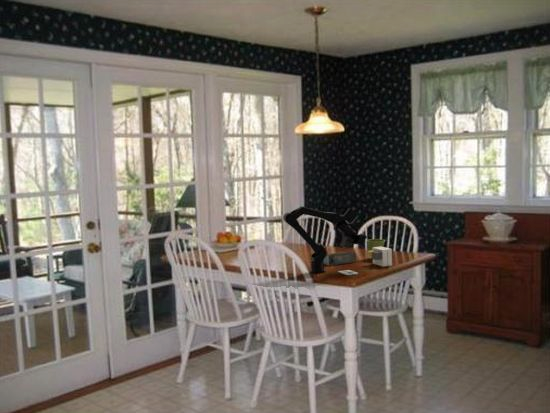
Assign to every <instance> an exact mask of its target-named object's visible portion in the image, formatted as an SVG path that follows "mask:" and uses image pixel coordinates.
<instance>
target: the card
mask: <svg viewBox="0 0 550 413" xmlns="http://www.w3.org/2000/svg"><path fill="white" fill-rule="evenodd" d="M337 272H338V273H340V274H343V275H346V276H350V275H358V274H359V272H357V271H354V270H350V269H347V270H346V269H344V270H338V271H337Z"/></svg>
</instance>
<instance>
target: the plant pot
mask: <svg viewBox="0 0 550 413" xmlns="http://www.w3.org/2000/svg"><path fill="white" fill-rule="evenodd" d="M365 241H366V244H367V247H368V251H371V250H372V247H385V246H384V245H385V242H386V239H381V238H372V239H371V238H370V239H365ZM371 260H373V259H372V258H371Z"/></svg>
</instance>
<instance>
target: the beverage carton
mask: <svg viewBox="0 0 550 413" xmlns="http://www.w3.org/2000/svg"><path fill="white" fill-rule="evenodd" d="M356 259H357V258H356V252H355V251H350V250H344V251H341V252H335V253H334V252H333V253H332V252H331V253H327V255H326V257H325V258H324V261H323V263H324V265H325V264H326V265H327V266H337V265H338V266H339V265H344V264H351V263H356V262H357V260H356ZM326 265H325V266H326Z"/></svg>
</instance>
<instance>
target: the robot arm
mask: <svg viewBox="0 0 550 413" xmlns="http://www.w3.org/2000/svg"><path fill="white" fill-rule="evenodd" d="M303 215H307V216H310V217H314V218H318V219H322V220H324V221H326V222H329V223H331V224H333V227H332V228H333V231H335V232H337V231H339V232H341V234H342V239H341V242H340V247H342V248H345V249H349V248H350V247H351V245H352V244H354V245H357V246H359V247H361V248H363V249H364V248H365V243H364V241H366V240H367V237H368V236H367V235H366V233H365V234H364V233H360V234H359V232H358V231H355V230H354V227H353V226H350V224H353V223H354V222H355V221H356V219H358V217H359V215H358V213H357V212H355V211H354V210H352V209H351V208H350V207H349V208H348V209H347V210H346V212H344V214H338V213H336V212H331V211H330V212H329V211H320V210H316V209H314V208H313V209H312V208H309V207H305V206H299V207H298V208H296V209H294V210H292V211H290V212H286V213H284V214H283V216H282V219H283V221H284V222H285V224H287V225H289V227H291V228H292V229H294V230H295V231H296V233H297V234H298V235H299V236H300V237H301V239H303V241H304V242H305V243H306V244H307V245H308V246H309V248H310V249H311V252H312V254H311V255H310V257H309V258H310V269H311V270H309V272H310V273H314V274H321V273H326V270H325V264H324V263H323V261H324V258H325V257H326V255H327V254H328V251H327V249H326V247H324V246H323V244H322V243H320V242H318V243H317V242H316V241H315V240H314V239H313V237H311V236H310V234H308V232H307V231H306V230H305V229H304V228H303V226H302V225H301V224H300V223H299V221H298V219H299V218H300V217H302V216H303Z"/></svg>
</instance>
